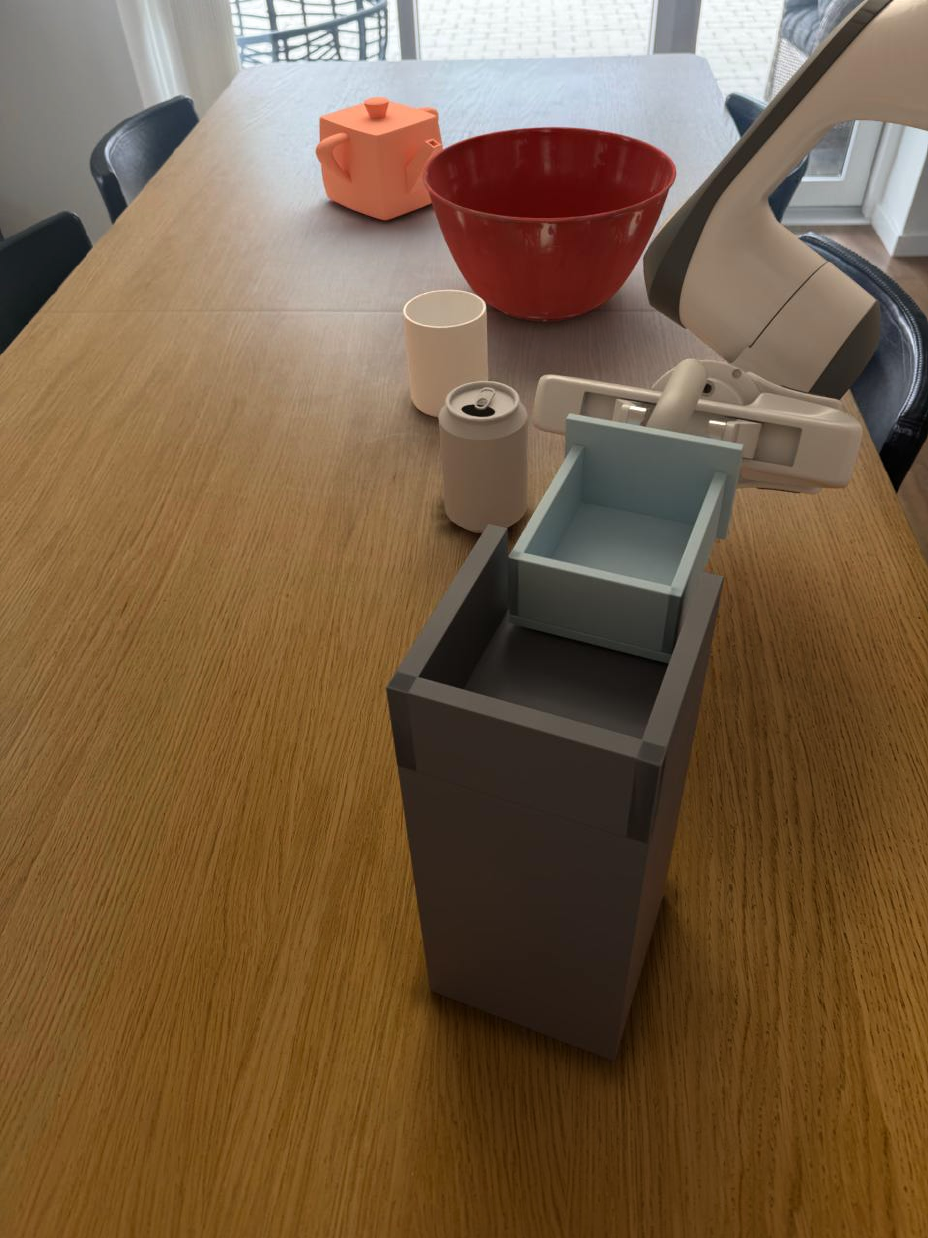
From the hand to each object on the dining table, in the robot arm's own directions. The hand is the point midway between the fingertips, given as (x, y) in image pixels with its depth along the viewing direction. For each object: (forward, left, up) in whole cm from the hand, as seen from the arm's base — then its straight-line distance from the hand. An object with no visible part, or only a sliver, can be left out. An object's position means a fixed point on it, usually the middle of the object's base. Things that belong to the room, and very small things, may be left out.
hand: (673, 429), depth 55 cm
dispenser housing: (0, +20, -23) cm, 31 cm away
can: (+19, -17, -23) cm, 35 cm away
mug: (+30, -36, -23) cm, 53 cm away
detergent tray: (0, +6, -2) cm, 6 cm away
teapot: (+59, -82, -23) cm, 104 cm away
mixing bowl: (+28, -60, -23) cm, 70 cm away
